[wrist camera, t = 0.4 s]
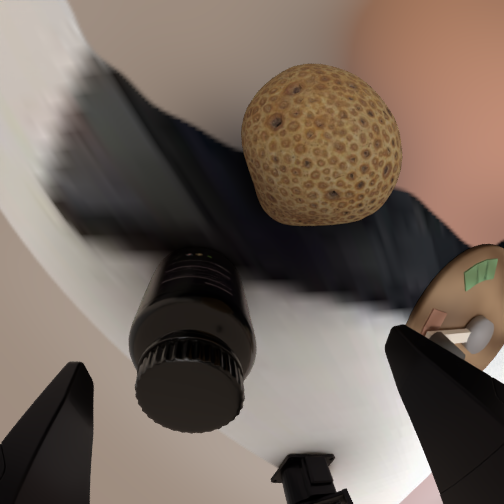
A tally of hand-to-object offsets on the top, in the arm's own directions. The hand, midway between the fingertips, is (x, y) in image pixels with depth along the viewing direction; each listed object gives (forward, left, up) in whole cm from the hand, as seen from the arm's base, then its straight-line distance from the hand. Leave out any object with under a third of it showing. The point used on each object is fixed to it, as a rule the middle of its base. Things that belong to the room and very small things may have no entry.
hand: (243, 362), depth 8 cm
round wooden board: (-3, -28, -15) cm, 32 cm away
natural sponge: (+7, -3, -15) cm, 17 cm away
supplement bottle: (-5, +1, -15) cm, 16 cm away
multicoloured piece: (-3, -25, -13) cm, 29 cm away
